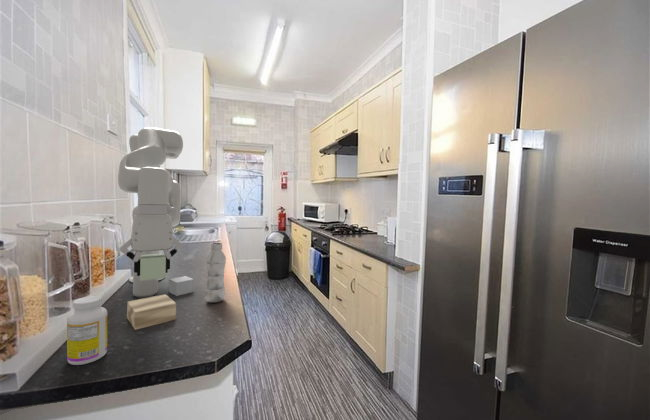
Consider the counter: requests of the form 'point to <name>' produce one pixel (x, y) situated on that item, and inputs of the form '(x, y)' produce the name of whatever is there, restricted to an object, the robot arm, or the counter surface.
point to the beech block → (151, 311)
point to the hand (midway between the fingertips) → (152, 272)
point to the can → (144, 286)
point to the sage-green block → (152, 266)
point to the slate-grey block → (181, 285)
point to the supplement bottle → (86, 331)
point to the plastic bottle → (215, 274)
